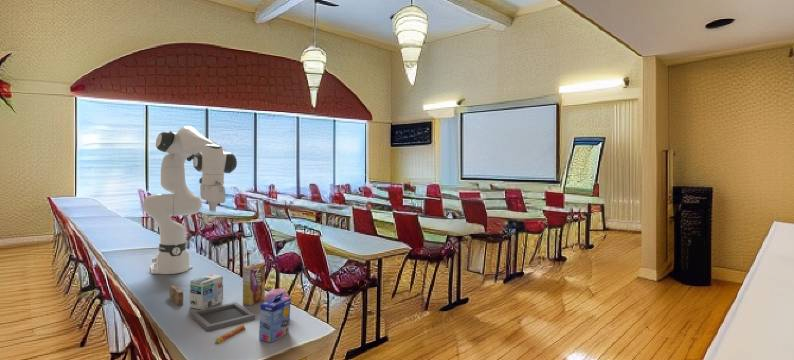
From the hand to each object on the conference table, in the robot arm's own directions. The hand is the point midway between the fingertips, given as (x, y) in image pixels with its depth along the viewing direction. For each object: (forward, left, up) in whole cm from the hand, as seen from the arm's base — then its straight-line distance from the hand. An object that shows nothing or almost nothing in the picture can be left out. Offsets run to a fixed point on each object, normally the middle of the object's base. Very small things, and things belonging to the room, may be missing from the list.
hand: (212, 211), depth 184 cm
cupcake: (+49, +6, -34) cm, 60 cm away
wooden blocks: (+11, -10, -34) cm, 37 cm away
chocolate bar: (+56, -14, -35) cm, 67 cm away
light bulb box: (+22, -10, -34) cm, 42 cm away
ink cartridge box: (+65, -3, -34) cm, 74 cm away
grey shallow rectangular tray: (+39, -10, -34) cm, 53 cm away
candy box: (+30, +6, -34) cm, 46 cm away
